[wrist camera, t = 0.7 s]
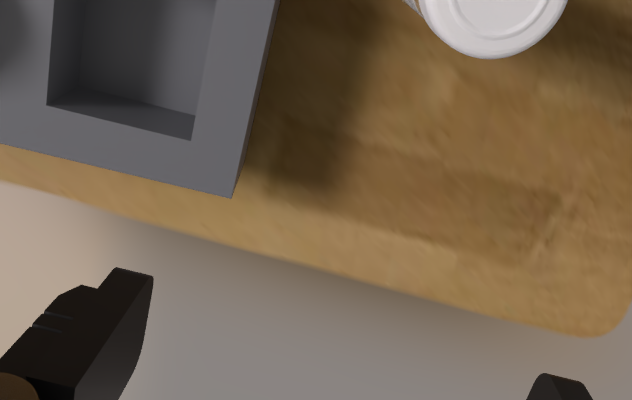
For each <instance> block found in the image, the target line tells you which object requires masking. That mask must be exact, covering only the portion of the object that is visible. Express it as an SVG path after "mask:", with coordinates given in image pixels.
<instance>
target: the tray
mask: <svg viewBox="0 0 632 400" xmlns="http://www.w3.org/2000/svg"><path fill="white" fill-rule="evenodd" d="M279 4H280V0H0V143H1V144H5V145H10V146H14V147H18V148H22V149H26V150H30V151H35V152H39V153H43V154H47V155H51V156H55V157H60V158H64V159H68V160H72V161H76V162H80V163H85V164H89V165H93V166H97V167H101V168H105V169H109V170H114V171H118V172H122V173H126V174H130V175H134V176H139V177H143V178H147V179H151V180H155V181H159V182H164V183H168V184H172V185H176V186H180V187H184V188H189V189H193V190H197V191H201V192H205V193H209V194H214V195H218V196H222V197H226V198H230V199H231V198H232V195H233V193H234V190H235V187H236V184H237V181H238V178H239V176H240V173H241V170H242V167H243V164H244V160H245V156H246V151H247V147H248V142H249V138H250V133H251V129H252V124H253V120H254V116H255V111H256V107H257V102H258V98H259V93H260V89H261V84H262V80H263V75H264V71H265V66H266V62H267V58H268V53H269V49H270V44H271V40H272V35H273V31H274V26H275V22H276V17H277V13H278V8H279Z"/></svg>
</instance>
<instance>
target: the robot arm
mask: <svg viewBox="0 0 632 400" xmlns="http://www.w3.org/2000/svg"><path fill="white" fill-rule="evenodd" d="M152 289H153V277H152V276H150V275H146V274H142V273H138V272H133V271H130V270H126V269H122V268H117V267H116V268H114V269H113V270H112V272H111V273H110V274H109V275H108V276H107V278H106V279H105V280H104V281H103V282H102V284H101V285H100V286H99V288H98V289H96V288H92V287H88V286H84V285H80V286H78V287H76V288H73V289H71V290H69V291H67V292H65V293H63V294H61V295H59V296H58V297H57V298H56V299H55V300H54V301H53V302H52V303H51V304H50V305H49V307H47V309H46V310H45V311H44V314H41V315H40V316H39V317H38V318H37V319H36V320H35V322H34V323H33V325H32V327H29V328H28V329H27V330H26V331H25V333H23V335H22V336H21V337H20V338H19V339H18V340H17V341H16V342H15V343H14V344H13V345H12V346H11V348H10V349H9V350H8V351H7V352H6V353H5V354H4V355H3V356H2V357H1V358H0V400H118V399H119V397H120V396H121V394H122V392H123V390H124V388H125V387H126V385H127V383H128V381H129V379H130V377H131V375H132V374H133V372H134V369H135V367H136V365H137V362H138V359H139V356H140V353H141V349H142V345H143V341H144V335H145V329H146V323H147V318H148V312H149V307H150V301H151V295H152ZM526 400H593V399H592V397H591V396H590V394H589V392H588V391H587V389H586V387H585V386H584V384H582V383H581V382H579V381H575V380H571V379H567V378H563V377H559V376H555V375H551V374H547V373H543V374H541V375H539V376H538V378H537V379H536V380H535V382H534V384H533V386H532V389H531V391H530V393H529V395H528V397H527V399H526Z"/></svg>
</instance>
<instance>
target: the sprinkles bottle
mask: <svg viewBox="0 0 632 400" xmlns="http://www.w3.org/2000/svg"><path fill="white" fill-rule="evenodd" d="M402 1H403V2H404V3H406V4H407V5H408V6H410V7H411V8H412V9H414V10H415V11H416V12H417V13H418V14H419V15H420V16H422V17H423V18H424V19H425V20H426V22H427V24H428V25H429V27H430V28H431V29H432V31H433V32H434V33H435V34H436V35H437V36H438V37H439V38H440V39H442V40H443V41H444V42H445V43H446V44H448V45H449V46H450V47H452V48H453V49H455V50H457V51H458V52H461V53H463V54H465V55H468V56H471V57H476V58H480V59H498V58H505V57H509V56H512V55H515V54H518V53H520V52H522V51H524V50H526V49H528V48H530V47H531V46H533V45H534V44H536V43H537V42H538V41H540V40H541V39H542V38H543V37H544V36H545V35H546V34H547V33H548V32H549V31H550V30H551V29H552V28H553V26H554V25H555V24H556V22H557V21H558V19H559V18H560V16H561V14H562V12H563V11H564V8H565V6H566V4H567V1H568V0H402Z"/></svg>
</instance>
